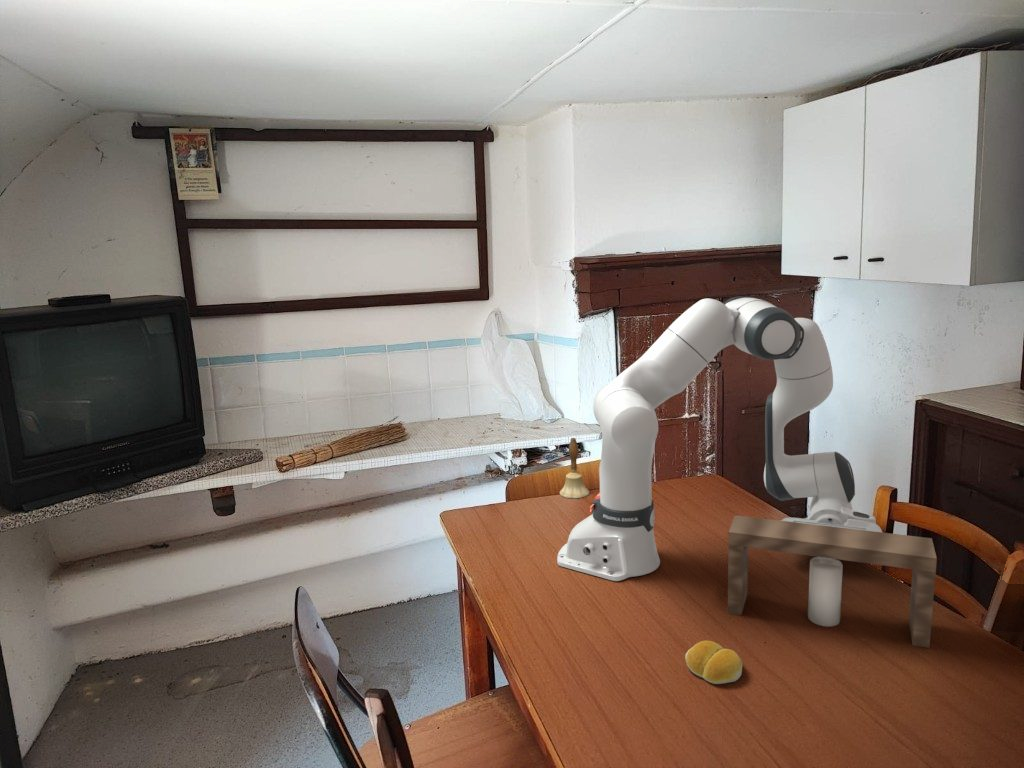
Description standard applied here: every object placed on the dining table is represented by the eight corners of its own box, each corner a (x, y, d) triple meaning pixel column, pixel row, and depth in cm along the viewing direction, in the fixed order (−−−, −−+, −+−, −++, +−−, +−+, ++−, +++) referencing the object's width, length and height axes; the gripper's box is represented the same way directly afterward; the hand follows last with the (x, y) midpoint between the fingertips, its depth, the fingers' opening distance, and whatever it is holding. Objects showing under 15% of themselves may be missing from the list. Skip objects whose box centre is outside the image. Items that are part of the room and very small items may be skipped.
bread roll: (725, 693, 111) (725, 671, 110) (678, 669, 118) (678, 647, 117) (753, 670, 116) (753, 648, 116) (706, 648, 123) (706, 627, 122)
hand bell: (569, 486, 202) (567, 432, 199) (594, 490, 198) (593, 436, 194) (554, 495, 196) (551, 440, 192) (580, 501, 191) (578, 444, 188)
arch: (727, 613, 133) (728, 532, 130) (733, 592, 140) (734, 515, 137) (929, 648, 119) (936, 558, 116) (924, 623, 126) (931, 538, 123)
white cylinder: (807, 623, 128) (809, 567, 126) (808, 608, 133) (810, 554, 131) (839, 628, 126) (842, 572, 124) (840, 613, 131) (842, 559, 129)
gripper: (778, 506, 156) (772, 531, 143) (883, 516, 147) (886, 545, 135) (778, 532, 157) (772, 560, 145) (881, 544, 148) (884, 575, 136)
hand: (828, 553), depth 140 cm, fingers open, 8 cm apart
